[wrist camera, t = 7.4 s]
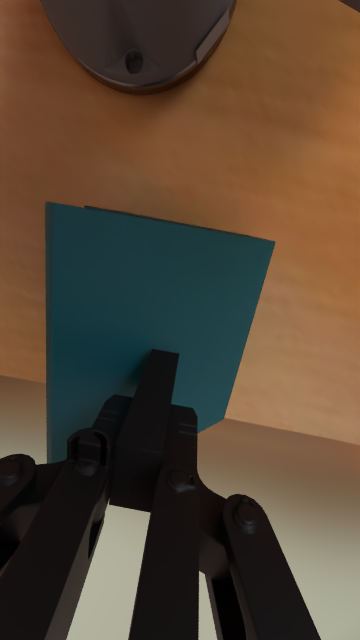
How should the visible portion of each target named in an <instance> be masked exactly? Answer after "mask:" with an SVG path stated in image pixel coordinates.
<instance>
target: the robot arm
mask: <svg viewBox="0 0 360 640" xmlns="http://www.w3.org/2000/svg"><path fill="white" fill-rule="evenodd" d="M40 1H41V3H42V6H43V8H44V10H45V12H46V15H47V17H48V19H49V21H50V23H51V25H52V26H53V28H54V30H55V32H56V33H57V35H58V36H59V38H60V39H61V41H62V42H63V43H64V45H65V46H66V47H67V49H68V50H69V51H70V53H71V54H72V55H73V56H74V58H75V59H76V60H77V62H78V63H79V64H80V65H81V66H82V67H83V68H84V69H85V70H86V71H87V72H88V73H89V74H91V75H92V76H93V77H94V78H96V79H97V80H98V81H100V82H102V83H103V84H105V85H107V86H109V87H111V88H113V89H116V90H119V91H122V92H125V93H131V94H153V93H159V92H162V91H165V90H168V89H171V88H173V87H175V86H177V85H179V84H180V83H182V82H184V81H185V80H187V79H188V78H189V77H191V76H192V75H193V74H194V73H195V72H197V71H198V70H199V69H200V68H201V67H202V66H203V65H204V63H205V62H206V61H207V60H208V59H209V57H210V56H211V55H212V54H213V52H214V51H215V49H216V48H217V46H218V44H219V43H220V41H221V39H222V37H223V35H224V34H225V32H226V29H227V27H228V25H229V22H230V20H231V17H232V14H233V12H234V9H235V5H236V2H237V0H40ZM339 1H341V2H342V3H344V4H346V5H347V6H349V7H351V8H353V9H354V10H356V11H358V12H359V13H360V0H339ZM178 359H179V353H173V352H168V351H162V350H157V349H152V351H151V353H150V356H149V358H148V361H147V364H146V366H145V369H144V371H143V374H142V376H141V379H140V382H139V384H138V387H137V389H136V392H135V394H134V397H127V396H122V395H116V394H114V395H113V396H111V397H110V398H109V399H107V400H106V401H105V403H104V405H103V407H102V408H101V411H100V412H99V414H98V416H97V419H96V420H95V421H94V423H93V425H92V427H88V428H84V429H80V430H78V431H77V432H75V433H73V434H72V435H71V436H70V437H69V438H68V439H67V459H65V460H63V461H60V462H55V463H48V464H39V465H36V464H35V461H34V459H33V458H31V457H30V456H29V455H24V454H14V455H9V456H6V457H4V458H1V459H0V640H66V638H67V635H68V632H69V628H70V626H71V623H72V620H73V617H74V613H75V610H76V607H77V604H78V601H79V598H80V595H81V592H82V588H83V585H84V582H85V579H86V576H87V573H88V570H89V567H90V564H91V561H92V558H93V555H94V551H95V548H96V545H97V542H98V539H99V536H100V533H101V530H102V527H103V524H104V517H105V510H106V507H107V504H108V501H109V505H114V506H119V507H124V508H130V509H135V510H140V511H145V512H150V513H151V514H150V520H149V525H148V530H147V536H146V541H145V547H144V553H143V559H142V564H141V570H140V576H139V582H138V587H137V593H136V598H135V605H134V610H133V615H132V621H131V627H130V633H129V638H128V640H198V622H199V620H198V619H199V571H201V572H202V573H204V574H205V578H206V583H207V588H208V593H209V599H210V603H211V608H212V614H213V619H214V624H215V630H216V635H217V639H218V640H321V639H320V636H319V634H318V632H317V629H316V627H315V625H314V623H313V620H312V618H311V616H310V613H309V611H308V609H307V607H306V604H305V602H304V600H303V597H302V595H301V593H300V590H299V588H298V586H297V584H296V581H295V579H294V577H293V574H292V572H291V570H290V568H289V565H288V563H287V561H286V558H285V556H284V554H283V552H282V549H281V547H280V545H279V542H278V540H277V538H276V535H275V533H274V531H273V529H272V527H271V524H270V522H269V519H268V517H267V515H266V513H265V512H264V510H263V509H262V507H261V506H260V505H259V504H258V503H257V502H256V501H255V500H254V499H252V498H250V497H248V496H246V495H241V494H235V495H231V496H229V497H228V498H227V499H225V498H223V497H222V496H220V495H218V494H216V493H214V492H213V491H211V490H210V489H208V488H207V487H206V486H205V485H204V484H203V482H202V481H201V479H200V477H199V475H198V472H197V432H198V428H197V427H198V416H197V414H196V412H195V410H194V408H191V407H186V406H180V405H175V404H171V402H172V396H173V390H174V384H175V377H176V371H177V365H178ZM109 498H110V500H109Z"/></svg>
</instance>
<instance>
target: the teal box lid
mask: <svg viewBox="0 0 360 640" xmlns="http://www.w3.org/2000/svg"><path fill="white" fill-rule="evenodd" d="M45 240H46V393H47V394H46V395H47V396H46V397H47V464H48V463H55V462H60V461H63V460H65V459H67V439H68V438H69V437H70V436H71V435H72V434H73V433H75V432H77V431H78V430H80V429H84V428H88V427H92V425H93V423H94V421H95V420H96V419H97V416H98V414H99V412H100V411H101V408H102V407H103V405H104V403H105V401H106V400H107V399H109V398H110V397H111V396H113V395H114V394H116V395H122V396H127V397H134V394H135V392H136V389H137V387H138V384H139V382H140V379H141V376H142V374H143V371H144V369H145V366H146V364H147V361H148V358H149V356H150V353H151V351H152V349H157V350H162V351H168V352H173V353H179V359H178V365H177V371H176V377H175V384H174V390H173V396H172V402H171V404H175V405H180V406H186V407H191V408H194V410H195V412H196V414H197V416H198V427H197V428H198V432H197V433H199V432H201V431H203V430H205V429H206V428H208V427H210V426H212V425H214V424H215V423H217V422H219V421H221V420H223V419H224V416H225V412H226V409H227V406H228V402H229V399H230V395H231V392H232V388H233V385H234V382H235V378H236V375H237V371H238V368H239V365H240V361H241V358H242V354H243V351H244V348H245V344H246V341H247V337H248V334H249V331H250V327H251V324H252V320H253V317H254V314H255V310H256V307H257V303H258V300H259V297H260V293H261V290H262V286H263V283H264V280H265V276H266V273H267V269H268V266H269V263H270V259H271V256H272V252H273V249H274V246H275V241H270V240H265V239H259V238H253V237H248V236H242V235H236V234H231V233H225V232H219V231H213V230H208V229H202V228H196V227H191V226H185V225H179V224H173V223H168V222H162V221H156V220H151V219H145V218H139V217H133V216H128V215H122V214H116V213H111V212H105V211H99V210H93V209H88V208H82V207H76V206H71V205H65V204H59V203H53V202H48V201H47V202H46V203H45Z"/></svg>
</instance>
